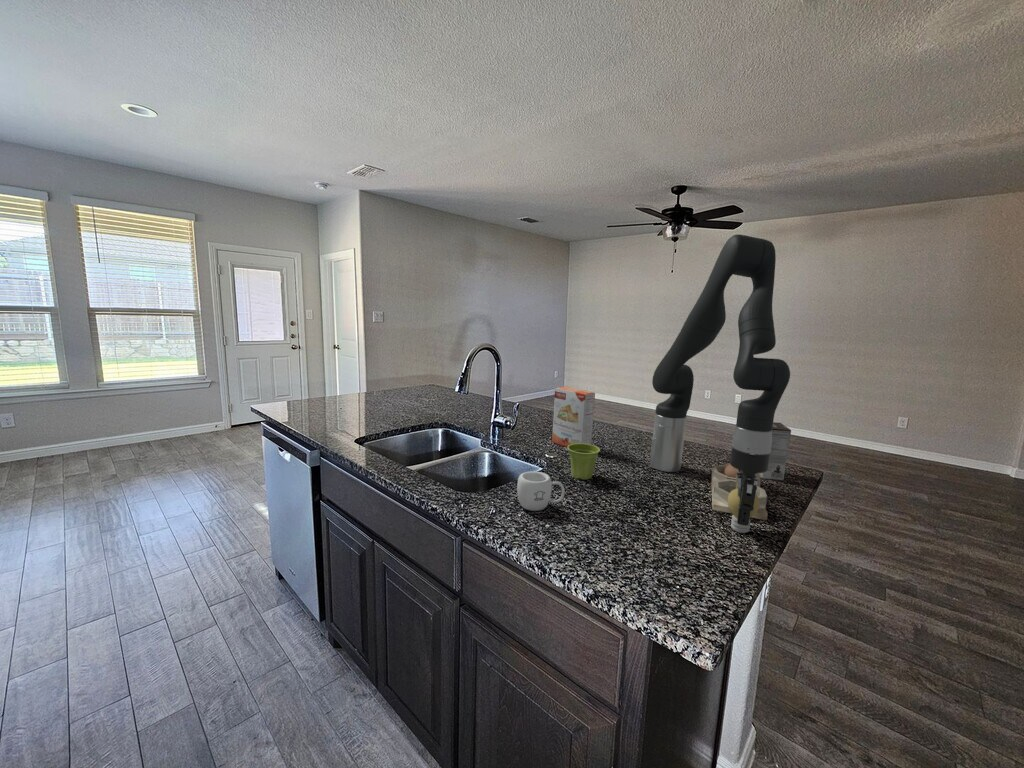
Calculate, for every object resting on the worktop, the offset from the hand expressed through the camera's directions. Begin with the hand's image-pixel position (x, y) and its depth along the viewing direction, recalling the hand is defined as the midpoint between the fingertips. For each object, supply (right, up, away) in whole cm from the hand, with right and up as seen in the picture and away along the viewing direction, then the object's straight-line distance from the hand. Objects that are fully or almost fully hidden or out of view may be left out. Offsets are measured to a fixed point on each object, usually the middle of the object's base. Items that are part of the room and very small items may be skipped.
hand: (741, 517), depth 100 cm
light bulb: (0, -3, +1) cm, 3 cm away
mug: (-45, 0, +9) cm, 46 cm away
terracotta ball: (+12, +5, +26) cm, 29 cm away
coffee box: (+28, +2, +38) cm, 47 cm away
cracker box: (-31, +8, +59) cm, 67 cm away
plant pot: (-32, +3, +30) cm, 44 cm away
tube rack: (+9, 0, +20) cm, 22 cm away
